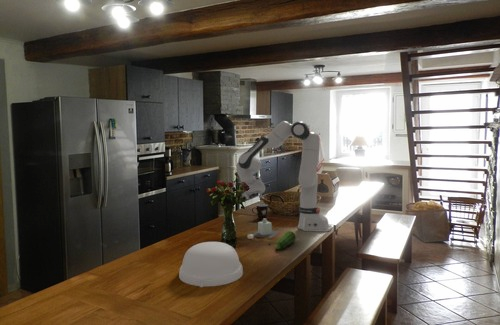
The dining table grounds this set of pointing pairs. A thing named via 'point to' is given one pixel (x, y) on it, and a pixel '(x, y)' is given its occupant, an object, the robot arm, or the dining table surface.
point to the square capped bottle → (264, 227)
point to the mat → (265, 235)
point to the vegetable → (285, 240)
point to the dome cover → (210, 265)
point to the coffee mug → (261, 211)
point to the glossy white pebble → (250, 236)
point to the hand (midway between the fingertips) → (254, 198)
